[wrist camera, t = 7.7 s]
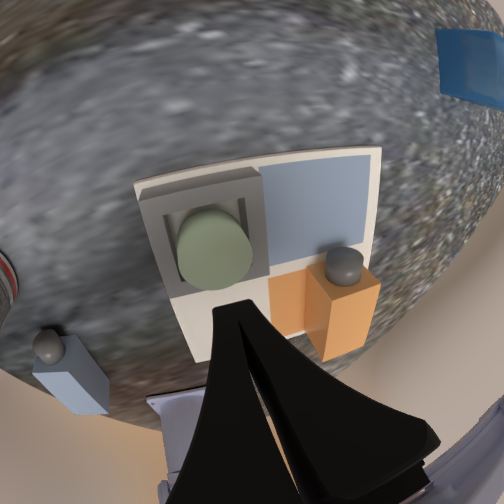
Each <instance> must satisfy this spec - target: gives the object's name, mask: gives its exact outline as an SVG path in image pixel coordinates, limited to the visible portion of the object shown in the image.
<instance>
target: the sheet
mask: <svg viewBox="0 0 504 504" xmlns="http://www.w3.org/2000/svg"><path fill="white" fill-rule="evenodd" d="M381 148H382V147H379V146H377V145H373V146H351V147H335V148H323V149H312V150H302V151H292V152H284V153H276V154H268V155H261V156H254V157H248V158H242V159H236V160H230V161H224V162H218V163H213V164H208V165H203V166H198V167H193V168H188V169H184V170H179V171H175V172H170V173H166V174H162V175H158V176H154V177H150V178H146V179H142V180H138V181H135V182H134V188H135V192H136V196H137V200H139V197H140V194H141V191H142V189H145V188H149V187H153V186H157V185H161V184H165V183H169V182H174V181H178V180H182V179H187V178H192V177H196V176H201V175H206V174H211V173H216V172H222V171H227V170H233V169H238V168H244V167H250V166H252V167H253V168H254V169H255V170H256V171H258V172H259V173H260V174H261V175H262V180H263V192H264V204H265V216H266V228H267V241H268V255H269V268H270V275H268V276H264V277H260V278H256V279H252V280H248V281H244V282H240V283H236V284H234V285H232V286H230V287H228V288H225V289H221V290H214V291H209V290H206V291H202V292H198V293H194V294H189V295H185V296H181V297H176V298H172V299H170V301H171V304H172V307H173V309H174V312H175V314H176V317H177V319H178V322H179V324H180V327H181V329H182V332H183V334H184V336H185V339H186V341H187V344H188V346H189V348H190V351H191V353H192V355H193V357H194V360H195V362H196V363H198V362H202V361H207V360H210V358H211V349H212V337H213V316H212V309H213V308H214V307H217V306H221V305H226V304H230V303H234V302H238V301H242V300H246V299H251V300H253V302H254V303H255V305H256V306H257V307H258V309H259V310H260V311H261V312H262V314H263V315H264V316H265V317H266V318H267V319H268V320H269V322H270V323H271V324H272V325H273V326H274V327H275V328H276V329H277V330H278V331H279V332H280V333H281V334H282V335H283V336H284V337H285V338H286V339H289V338H292V337H295V336H298V335H301V334H304V333H306V332H305V330H304V314H305V288H306V266H309V265H312V264H316V263H320V262H323V261H326V255H327V253H328V251H329V250H331V249H333V248H336V247H350V248H354V249H356V250H358V251H359V252H360V253H361V254H362V255H363V257H364V262H363V265H364V266H365V267H366V268H367V269H368V265H369V260H370V254H371V248H372V241H373V235H374V227H375V220H376V212H377V203H378V193H379V181H380V167H381ZM207 209H218V210H222V211H225V212H227V213H229V214H231V215H232V216H233V217H234V218H235V219H236V220H237V221H238V222H239V224H240V226H241V221H240V213H239V205H238V199H234V200H229V201H224V202H220V203H215V204H210V205H205V206H201V207H196V208H192V209H187V210H183V211H179V212H174V213H170V214H166V215H167V219H168V223H169V227H170V231H171V234H172V238H173V242H174V245H175V249H176V253H177V242H176V240H177V234H178V231H179V228H180V227H181V225H182V224H183V222H184V221H185V220H186V219H187V218H188V217H190V216H191V215H193V214H194V213H196V212H199V211H202V210H207Z"/></svg>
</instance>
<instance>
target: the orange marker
mask: <svg viewBox="0 0 504 504" xmlns="http://www.w3.org/2000/svg"><path fill="white" fill-rule="evenodd" d="M363 262H364V257H363V255H362V254H361V253H360V252H359V251H358V250H356V249H354V248H350V247H336V248H333V249H331V250H329V251H328V253H327V255H326V261H323V262H320V263H316V264H312V265H309V266H306V288H305V314H304V330H305V332H306V334H307V335H308V337H309V339H310V341H311V342H312V344H313V346H314V348H315V349H316V351H317V353H318V355H319V357H320V358H321V360H322V362H325V361H327V360H330V359H332V358H335V357H337V356H340V355H342V354H345V353H347V352H350V351H352V350H354V349H357V348H359V347H361V346H364V343H365V340H366V337H367V334H368V330H369V327H370V324H371V320H372V317H373V313H374V310H375V306H376V302H377V298H378V294H379V291H380V286H381V283H380V282H379V281H378V279H377V278H376V277H375V276H374V275H373V274H372V273H371V272H370V271H369V270H368V269H367V268H366V267H365V266H364V265H363Z"/></svg>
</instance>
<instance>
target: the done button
mask: <svg viewBox="0 0 504 504" xmlns="http://www.w3.org/2000/svg"><path fill="white" fill-rule="evenodd" d="M176 242H177V257H178V267H179V270H180V273H181V275H182V276H183V278H184V279H185V280H186V281H187V282H188V283H189V284H191V285H192V286H194V287H196V288H199V289H202V290H209V291H214V290H221V289H225V288H228V287H230V286H232V285H234V284H236V283H237V282H239V281H240V280H241V279H242V278H243V277H244V276H245V275H246V273H247V272H248V270H249V268H250V266H251V263H252V258H253V251H252V247H251V244H250V242H249V240H248V239H247V237H246V235H245V233H244V231H243V229H242V228H241V226H240V224H239V222H238V221H237V220H236V219H235V218H234V217H233V216H232V215H231V214H229V213H227V212H225V211H222V210H218V209H207V210H202V211H199V212H196V213H194V214H193V215H191V216H190V217H188V218H187V219H186V220H185V221H184V222H183V224H182V225H181V227H180V228H179V231H178V234H177V240H176Z"/></svg>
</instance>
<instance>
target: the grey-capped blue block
mask: <svg viewBox="0 0 504 504" xmlns="http://www.w3.org/2000/svg"><path fill="white" fill-rule="evenodd" d="M33 350H34V351H35V353H36V354H37V356H36V360H35V363H34V367H33V371H32V374H33V375H34V376H35V377H36V378H37V379H38V380H39V381H40V382H41V383H42V384H43V385H44V386H45V387H46V388H47V389H48V390H49V391H50V392H51V393H52V394H53V395H54V396H55V397H56V398H57V399H58V400H59V401H60V402H61V403H62V404H63V405H65V406H66V407H67V408H68V409H69V410H70V411H71V412H73V413H74V414H79V415H80V414H109V391H110V380H109V379H108V378H107V376H106V375H105V374H104V372H103V371H102V370H101V369H100V367H99V366H98V365H97V363H96V362H95V361H94V359H93V358H92V357H91V355H90V354H89V353H88V351H87V350H86V348H85V347H84V346H83V344H82V343H81V341H80V340H79V338H78V337H77V335H76V334H75V335H68V336H61V337H59V336H58V335H57V333H56V332H55V331H54V330H52V329H46V330H44V331H42V332H40V333H39V334H38V335H37V336H36V338H35V339H34V341H33Z"/></svg>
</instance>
